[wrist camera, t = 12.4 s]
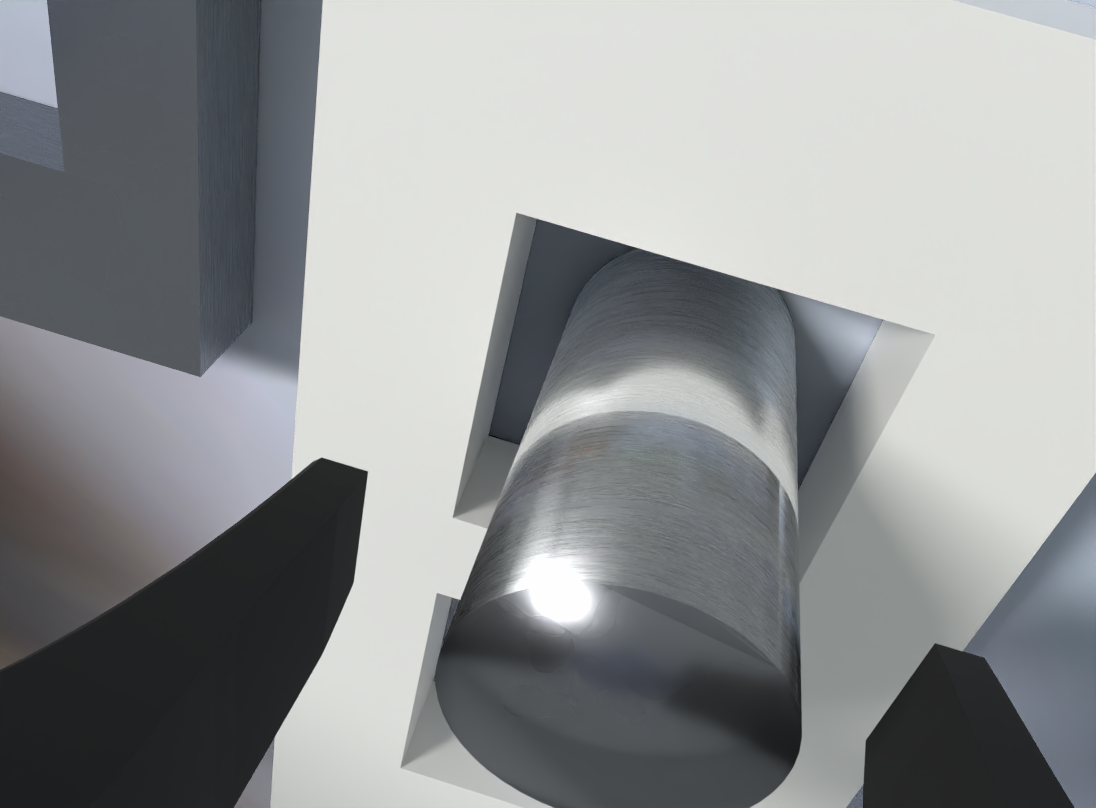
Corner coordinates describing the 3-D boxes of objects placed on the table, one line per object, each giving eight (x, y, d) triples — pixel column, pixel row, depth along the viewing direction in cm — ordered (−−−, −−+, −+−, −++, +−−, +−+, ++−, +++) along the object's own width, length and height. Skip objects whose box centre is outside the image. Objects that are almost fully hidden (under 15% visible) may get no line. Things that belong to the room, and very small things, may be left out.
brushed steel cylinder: (758, 459, 18) (743, 862, 11) (552, 408, 18) (423, 772, 12) (827, 272, 15) (857, 645, 9) (588, 217, 16) (452, 539, 9)
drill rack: (731, 871, 25) (726, 967, 23) (309, 736, 26) (269, 819, 24) (1269, 55, 12) (1363, 113, 10) (404, -182, 13) (334, -171, 11)
